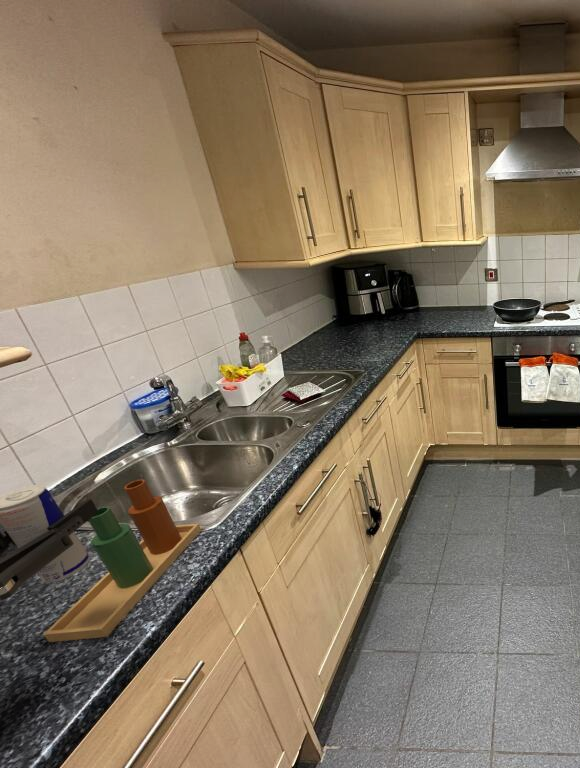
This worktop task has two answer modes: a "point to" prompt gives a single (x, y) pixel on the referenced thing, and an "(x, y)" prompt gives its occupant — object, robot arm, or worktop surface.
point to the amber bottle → (152, 518)
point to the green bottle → (119, 549)
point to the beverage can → (40, 528)
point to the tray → (114, 597)
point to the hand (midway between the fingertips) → (73, 507)
